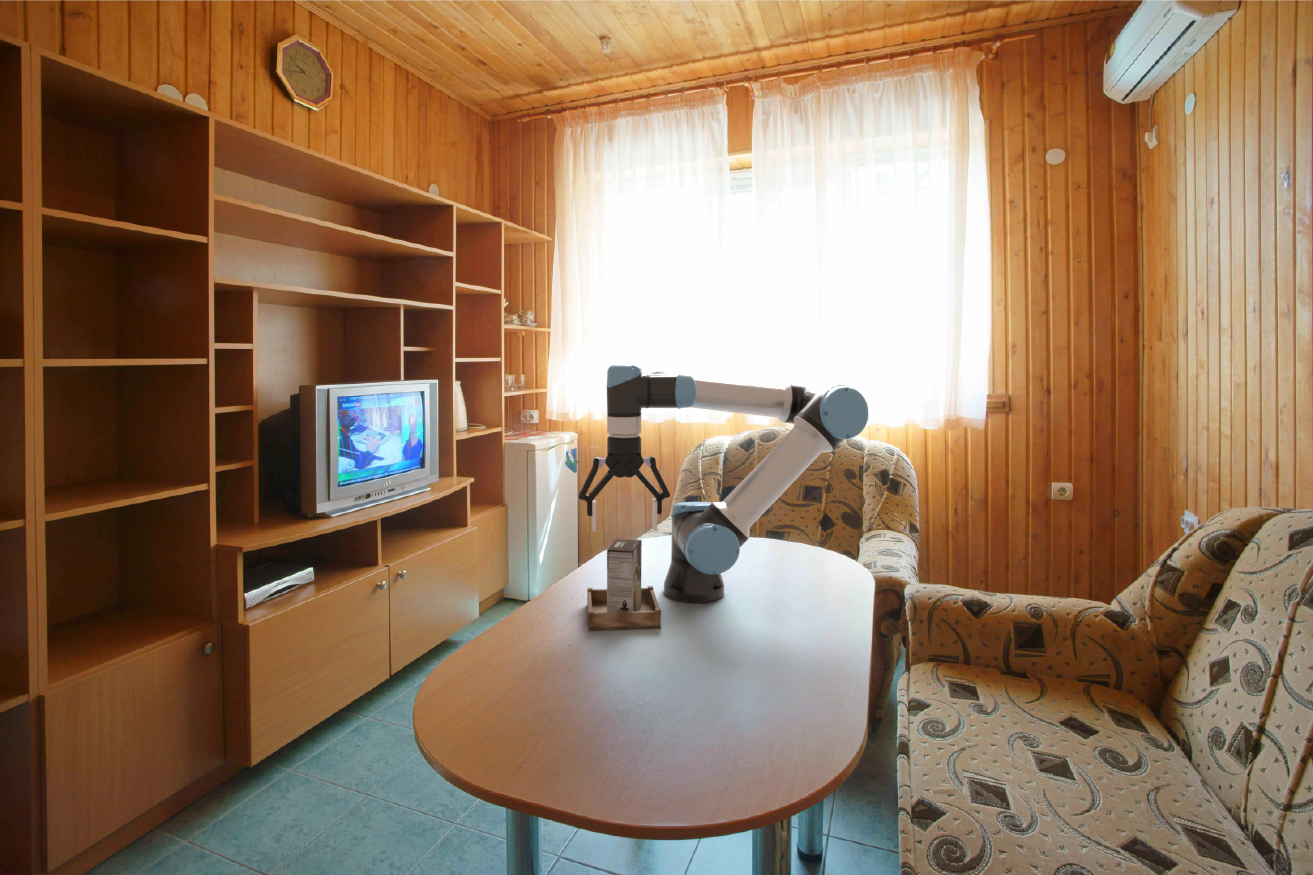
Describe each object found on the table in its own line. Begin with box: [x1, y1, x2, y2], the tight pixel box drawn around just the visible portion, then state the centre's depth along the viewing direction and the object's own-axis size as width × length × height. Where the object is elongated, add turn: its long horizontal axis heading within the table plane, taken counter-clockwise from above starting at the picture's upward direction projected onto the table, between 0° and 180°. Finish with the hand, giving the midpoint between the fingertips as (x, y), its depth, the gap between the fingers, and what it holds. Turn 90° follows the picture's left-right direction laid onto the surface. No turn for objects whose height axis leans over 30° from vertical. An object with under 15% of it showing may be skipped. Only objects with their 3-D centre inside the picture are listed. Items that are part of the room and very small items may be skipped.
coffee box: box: [606, 538, 643, 612], centre depth 154 cm, size 9×6×16 cm
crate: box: [586, 585, 662, 632], centre depth 154 cm, size 16×16×4 cm
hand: (624, 529), depth 152 cm, fingers open, 13 cm apart
